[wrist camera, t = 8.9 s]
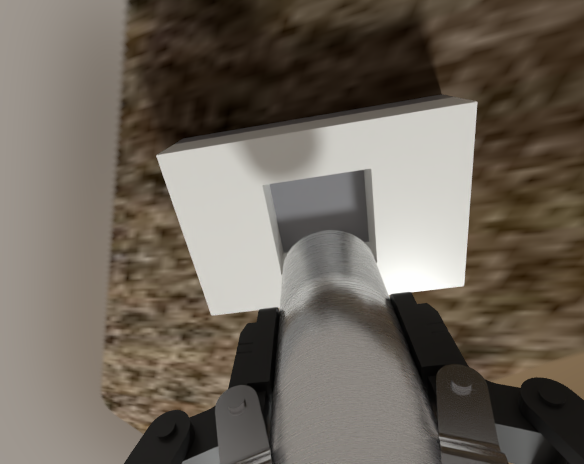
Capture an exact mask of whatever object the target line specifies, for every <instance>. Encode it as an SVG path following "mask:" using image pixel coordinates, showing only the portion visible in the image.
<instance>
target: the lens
mask: <svg viewBox="0 0 584 464" xmlns="http://www.w3.org/2000/svg"><path fill="white" fill-rule="evenodd" d="M269 444H270V450H271V455H272V460H273V464H441V458H440V445H439V434H438V424H437V419H436V416H435V413H434V411H433V408H432V406H431V403H430V400H429V398H428V395H427V393H426V390H425V388H424V385H423V382H422V380H421V377H420V375H419V372H418V370H417V367H416V364H415V362H414V359H413V357H412V354H411V351H410V349H409V346H408V344H407V341H406V339H405V336H404V333H403V331H402V328H401V326H400V323H399V321H398V318H397V315H396V313H395V310H394V308H393V305H392V302H391V300H390V297H389V295H388V292H387V290H386V287H385V284H384V282H383V279H382V277H381V274H380V272H379V269H378V266H377V264H376V261H375V259H374V256H373V254H372V252H371V250H370V249H369V247H368V246H367V245H366V244H365V243H364V242H363V241H362V240H360V239H359V238H357V237H356V236H354V235H352V234H349V233H346V232H343V231H337V230H326V231H319V232H315V233H312V234H310V235H308V236H305V237H304V238H302V239H301V240H299V241H298V242H297V243H295V245H294V246H293V247H292V248H291V249H290V250H289V252H288V254H287V256H286V258H285V261H284V265H283V273H282V286H281V298H280V310H279V322H278V335H277V347H276V359H275V371H274V384H273V396H272V408H271V420H270V433H269Z"/></svg>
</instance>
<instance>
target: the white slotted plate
mask: <svg viewBox="0 0 584 464" xmlns="http://www.w3.org/2000/svg"><path fill="white" fill-rule="evenodd" d="M476 113H477V102H476V101H472V100H467V99H462V98H457V97H452V96H447V95H442V94H441V95H436V96H430V97H424V98H418V99H412V100H406V101H400V102H395V103H389V104H383V105H377V106H371V107H365V108H359V109H353V110H348V111H342V112H336V113H330V114H324V115H318V116H312V117H307V118H301V119H295V120H289V121H283V122H277V123H271V124H265V125H260V126H254V127H248V128H242V129H236V130H230V131H224V132H219V133H213V134H207V135H201V136H195V137H189V138H183V139H182V140H180V141H178V142H177V143H175V144H174V145H172V146H170V147H169V148H167V149H165V150H164V151H162V152H161V153H159V154H157V155H156V156H157V159H158V162H159V165H160V168H161V171H162V174H163V177H164V180H165V182H166V185H167V188H168V191H169V194H170V197H171V200H172V203H173V206H174V208H175V211H176V214H177V217H178V220H179V223H180V226H181V229H182V232H183V234H184V237H185V240H186V243H187V246H188V249H189V252H190V255H191V258H192V260H193V263H194V266H195V269H196V272H197V275H198V278H199V281H200V284H201V287H202V289H203V292H204V295H205V298H206V301H207V304H208V307H209V310H210V313H211V315H220V314H228V313H237V312H246V311H254V310H259V309H264V308H273V307H278V308H280V298H281V286H282V273H283V265H284V261H285V258H286V256H287V254H288V252H289V250H290V249H291V248H292V247H293V246H294V245H295V243H297V242H298V241H299V240H301V239H302V238H304V237H305V236H308V235H310V234H312V233H315V232H319V231H326V230H337V231H343V232H346V233H349V234H352V235H354V236H356V237H357V238H359V239H360V240H362V241H363V242H364V243H365V244H366V245H367V246H368V247H369V249H370V250H371V252H372V254H373V256H374V259H375V261H376V264H377V266H378V269H379V272H380V274H381V277H382V279H383V282H384V284H385V287H386V290H387V292H388V295H391V294H393V293H402V292H416V291H425V290H433V289H442V288H451V287H459V286H464V279H465V265H466V251H467V238H468V224H469V210H470V196H471V182H472V168H473V154H474V141H475V127H476Z"/></svg>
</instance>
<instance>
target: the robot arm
mask: <svg viewBox="0 0 584 464" xmlns="http://www.w3.org/2000/svg"><path fill="white" fill-rule="evenodd" d="M390 300H391V302H392V305H393V308H394V310H395V313H396V315H397V318H398V321H399V323H400V326H401V328H402V331H403V333H404V336H405V339H406V341H407V344H408V346H409V349H410V351H411V354H412V357H413V359H414V362H415V364H416V367H417V370H418V372H419V375H420V377H421V380H422V382H423V385H424V388H425V390H426V393H427V395H428V398H429V400H430V403H431V406H432V408H433V411H434V413H435V416H436V419H437V424H438V434H439V445H440V458H441V464H508V462H510V463H514V464H584V400H583V399H582V398H580V397H579V396H578V395H577V394H575V393H574V392H573V391H572V390H570V389H569V388H568V387H566V386H564V385H563V384H561V383H559V382H557V381H554V380H551V379H547V378H531V379H528V380H526V381H525V382H523V384H522V385H521V388H518V387H512V386H506V385H501V384H496V383H493V382H490V381H487V380H485V379H484V378H483V377H482V376H481V375H480V374H479V373H478V372H477V371H475V370H474V369H472V368H470V367H469V366H468V365H467V363H466V361H465V360H464V358H463V356H462V354H461V352H460V351H459V349H458V347H457V345H456V343H455V342H454V340H453V338H452V336H451V335H450V333H449V332H448V329H447V327H446V326H445V324H444V323H443V320H442V318H441V317H440V315H439V313H438V311H436V310H435V309H434V308H433V307H431V306H430V305H429V304H427V303H424V304H417V303H416V301H415V299H414V297H413V295H412V293H411V292H402V293H393V294H391V295H390ZM278 322H279V310H278V307H273V308H264V309H259V312H258V318H257V322H256V323H248V324H247V325H246V326H245V328H244V329H243V331H242V332H241V333H240V338H239V342H238V347H237V352H236V356H235V361H234V365H233V370H232V374H231V379H230V384H229V388H228V390H226V391H225V392H224V393H223V394H222V395H221V396H220V397H219V399H218V401H217V403H216V406H214V407H213V408H211V409H209V410H207V411H205V412H202V413H200V414H197V415H195V416H192V417H190V418H189V417H188V415H187V414H186V413H185V412H183V411H181V410H172V411H169V412H166V413H164V414H162V415H161V416H159V417H158V418H157V419H155V420H154V421H153V422H152V423H151V425H150V426H149V427H148V429H147V430H146V432H145V433H144V435H143V436H142V438H141V439H140V441H139V442H138V444H137V445H136V447H135V448H134V449H133V451H132V452H131V454H130V455H129V457H128V459H127V460H126V461H125V463H124V464H273V460H272V455H271V450H270V444H269V433H270V420H271V408H272V396H273V384H274V371H275V359H276V347H277V335H278Z"/></svg>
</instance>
